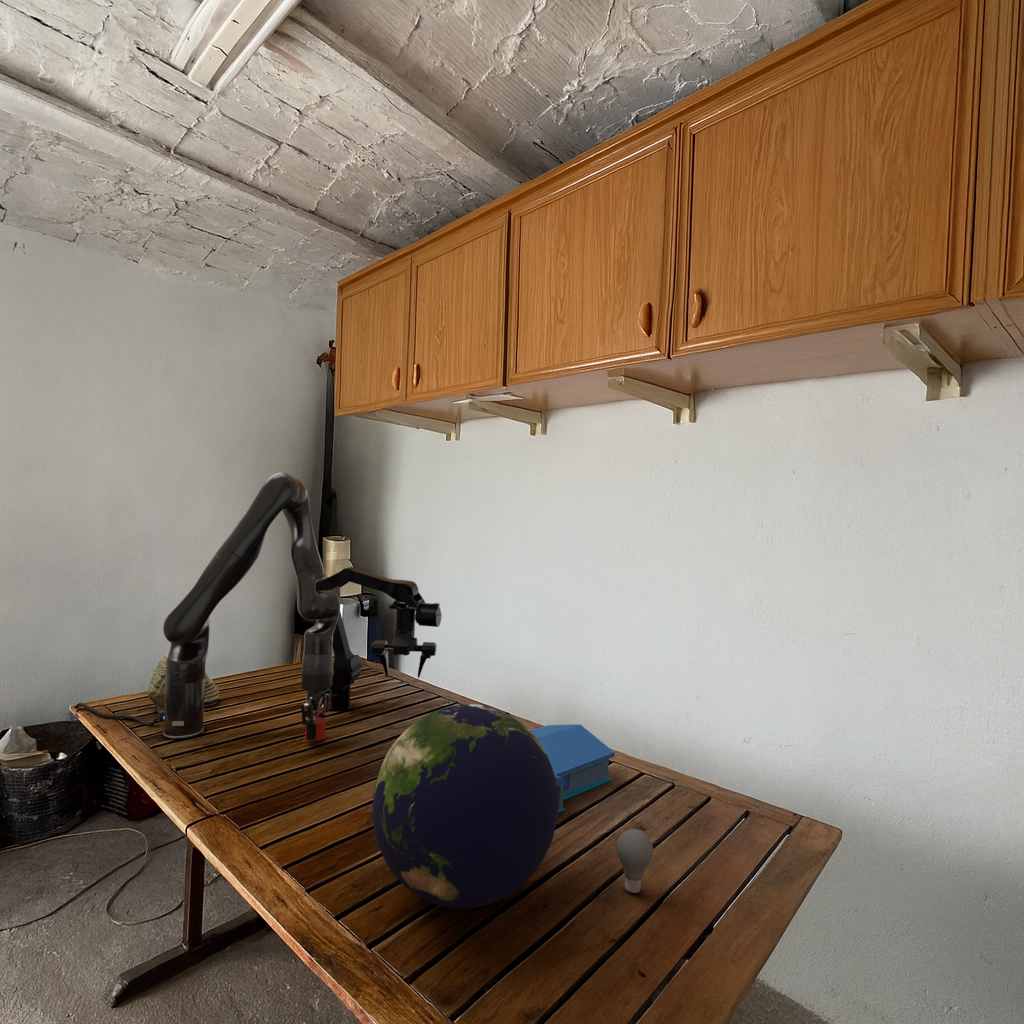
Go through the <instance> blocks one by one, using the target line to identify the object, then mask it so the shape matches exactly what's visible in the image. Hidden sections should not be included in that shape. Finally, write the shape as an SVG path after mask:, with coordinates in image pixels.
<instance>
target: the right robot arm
mask: <svg viewBox="0 0 1024 1024" xmlns="http://www.w3.org/2000/svg"><path fill="white" fill-rule="evenodd" d="M348 583H353V584H355V585H356V584H357V585H359V586H363V587H366V588H368V589H372V590H375V591H378V592H382V593H384V594H386V596H388V597H390V598H391V599H393V600H394V601H393V602H392V603H391V604H390V605H389V606H388V609H390V610H395V622H394V624H395V625H394V626H395V627H394V636H393V638H392V643H388V640H380V639H379V640H377V639H375V641H373V642H372V643H371V645H370V654H372V655H374V656H375V657H378V659H379V660H380V662H381V664H382V667H383V670H384V673H385V676H386V678H388V677H389V672H390V671H389V670H390V669H389V668H390V667H389V652H392V655H394V656H409V655H410V653H411V652H419V653H421V654H420V656H419V658H420V659H419V665H418V670H417V679H420V677H421V673H422V671H423V668H424V666H425V663H426V661H427V660H428V659H431V658H432V657H434V656H435V657H436V654H437V647H438V646H437V645H438V644H437V643H436V642H435V641H434V642H431V641H423V642H422V645H421V644H418V638H417V637H415V635H416V634H415V632H416V624H418V626H419V627H420V626H421V627H432V628H439V627H440V625H441V623H442V615H443V613H442V610H441V607H440V603H438V602H435V603H430V602H426V600H424V597H423V596H422V595H421V594H420V592H419V591H420V590H419V587H418V584H417V583H416V582H415V581H412V580H405V579H392V578H388V577H384V576H381V575H377V574H374V573H372V572H369V571H364V570H362V569H358V568H356V567H354V566H348V567H344V568H343V569H342V570H339V571H337V572H336V573H334V574H333V575H330V576H328V577H324V579H323V580H322V581H321V582H319V583H316V587H315V589H316V592H318V591H326V590H331V591H334V592H335V593H336V594H337V595H338V597H339V600H341V588H342V587H345V586H346V585H347V584H348ZM332 652H333V655H334V657H333V672H334V676H333V677H332V687H331V688H329V689H331V693H330V701H329V710H328V711H344V712H345V711H350V709H351V708H352V706H353V704H354V702H351V685H353V684H355V681H356V680H357V679H358V678H359V677H360V675H361V673H362V668H363V665H362V664H361V661H360V660H361V659H360V655H359V654H356V655H354V653H353V652H352V650H351V648H350V644H349V639H348V636H347V632H346V628H345V624H344V619H343V616H342V612H341V611H340V613H339V616H338V620H337V623H336V627H335V630H334V633H333V642H332Z"/></svg>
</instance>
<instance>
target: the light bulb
mask: <svg viewBox="0 0 1024 1024" xmlns="http://www.w3.org/2000/svg"><path fill="white" fill-rule="evenodd" d="M615 849H616V854H617V857H618V859H619V861H620V863H621V865H622V867H623V873H624V874H623V875H624V876H625V878H624V888H625V890H627V891H628V892H630V893H634V894H635V893H639V892H640V891H641V889H642V887H641V886H642V879H643V877H644V875H645V871H646V868H647V867H648V866H649V864H650V863H651V861H652V859H653V855H654V847H653V843H652V841H651V838H649V836H648V835H647V834H646V833H645V832H643V831H642V830H641V829H636V828H629V829H627V830H625V831H623V832H622V833H621V834H620V835H619V837H618V839H617V841H616V847H615Z"/></svg>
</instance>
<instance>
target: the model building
mask: <svg viewBox="0 0 1024 1024" xmlns="http://www.w3.org/2000/svg"><path fill="white" fill-rule="evenodd" d="M529 730H530V732H531V733H532V734H533V735H534V736H535V737H536V738H537V739H538V741H539V742H540V743H541V745H542V747H543V748H544V750H545V752H546V753H547V756H548V758H549V761H550V763H551V765H552V768H553V772H554V775H555V779H556V784H557V791H558V814H559V813H562V812H564V811H565V810H566V809H565V807H564V805H563V804H564V801H565V800H568V799H570V798H572V797H575V796H577V795H580V794H582V793H585V792H587V791H589V790H591V789H594V788H597V787H599V786H601V785H603V784H606V783H609V782H610V781H612V779H613V778H612V777H610V776H609V766H610V765H609V763H610V759H612V758H614V757H615V751H613V750H612V749H611V748H610V747H609V746H608V745H606V744H605V743H604V742H603V741H601V740H600V738H598V737H597V736H595V735H594V734H593V733H592V732H591V731H589V730H588V729H587V728H586V727H584V726H583V725H582V724H580V723H578V724H576V723H575V724H548V725H547V724H546V725H544V726H541V727H537V728H533V729H529Z"/></svg>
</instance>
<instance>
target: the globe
mask: <svg viewBox="0 0 1024 1024" xmlns="http://www.w3.org/2000/svg"><path fill="white" fill-rule="evenodd" d="M530 730H531V729H529V728H527V726H525V725H524V724H523V723H522V722H520V721H519V720H518V719H516V718H515V717H514V716H512V715H510V714H509V713H506V712H504V711H502V710H499V709H497V708H494V707H491V706H487V705H482V704H478V703H477V704H475V703H468V704H467V703H466V704H465V703H464V704H455V705H450V706H449V705H448V706H445V707H442V708H439V709H437V710H434V711H432V712H429V713H428V714H425V715H424V716H422V717H420V719H417V720H416V721H415V722H413V723H412V724H411V725H410V726H408V727H407V728H406V729H405V730H404V731H403V732H402V734H401V735H400V736H398V737H397V738H396V740H395V741H394V742H393V744H392V745H391V747H390V748H389V749H388V751H387V753H386V755H385V757H384V760H383V761H382V763H381V765H380V768H379V771H378V774H377V776H376V781H375V784H374V789H373V796H372V804H371V805H372V807H371V809H372V824H373V829H374V836H375V839H376V843H377V846H378V849H379V852H380V853H381V856H382V858H383V860H384V861H385V863H386V865H387V866H388V868H389V871H391V873H392V874H393V875H394V876H395V878H396V879H397V880H398V881H399V882H400V883H401V884H402V885H403V886H404V887H405V888H406V889H407V890H409V891H410V892H411V893H413V895H415V896H417V897H419V898H421V899H422V900H425V901H426V902H429V903H431V904H434V905H437V906H440V907H444V908H448V909H457V910H465V909H466V910H467V909H469V910H470V909H477V908H481V907H486V906H489V905H492V904H494V903H497V902H499V901H502V900H504V899H505V898H508V896H510V895H512V894H513V893H515V892H516V891H518V890H519V889H520V888H521V887H523V885H524V884H526V883H527V882H528V880H530V879H531V878H532V877H533V875H534V874H535V873H536V871H537V870H538V869H539V867H540V866H541V865H542V862H543V861H544V859H545V857H546V855H547V854H548V851H549V849H550V847H551V844H552V842H553V839H554V836H555V832H556V829H557V828H556V827H557V822H558V816H559V813H558V791H557V784H556V779H555V775H554V772H553V768H552V765H551V763H550V761H549V758H548V756H547V753H546V752H545V750H544V748H543V747H542V745H541V743H540V742H539V741H538V739H537V738H536V737H535V736H534V735H533V734H532V733H531V732H530Z"/></svg>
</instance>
